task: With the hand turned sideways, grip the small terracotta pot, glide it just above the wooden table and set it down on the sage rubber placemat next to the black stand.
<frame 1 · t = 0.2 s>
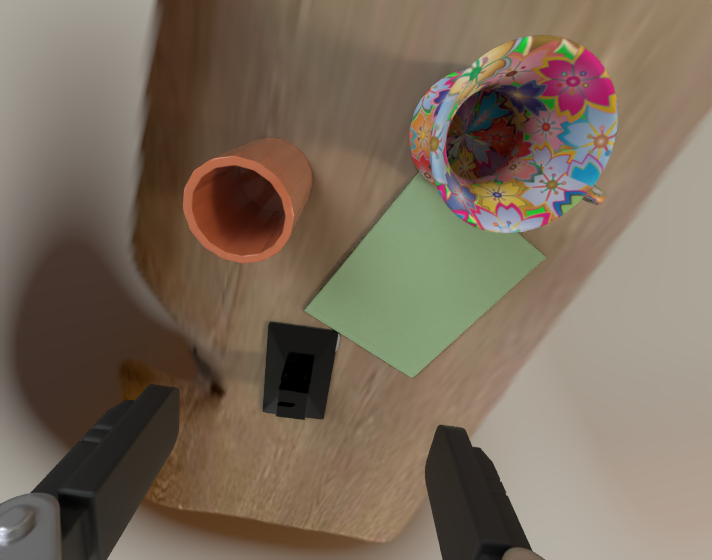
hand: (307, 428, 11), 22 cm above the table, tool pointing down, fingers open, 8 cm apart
black stand: (298, 371, 39), on the table
placemat: (419, 283, 34), on the table
pot: (274, 177, 29), on the table
mug: (475, 141, 28), on the table, touching placemat
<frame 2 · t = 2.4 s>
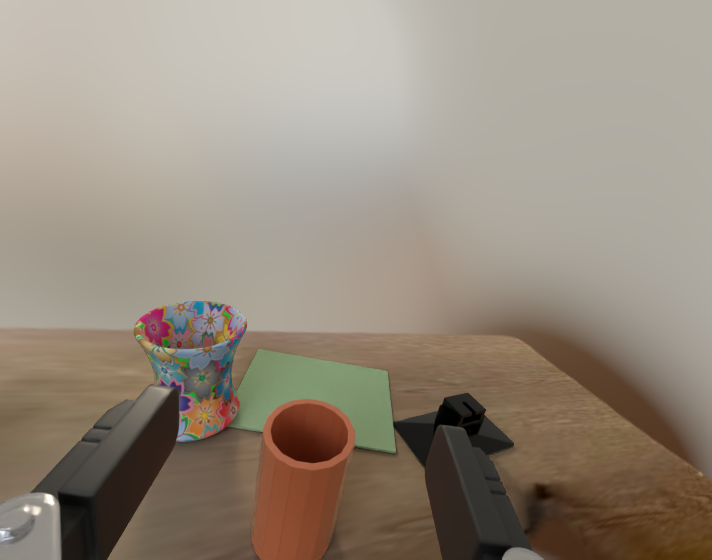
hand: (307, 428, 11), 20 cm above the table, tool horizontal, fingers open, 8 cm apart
black stand: (453, 436, 41), on the table
placemat: (317, 394, 43), on the table
pot: (292, 528, 28), on the table
mug: (198, 407, 38), on the table, touching placemat
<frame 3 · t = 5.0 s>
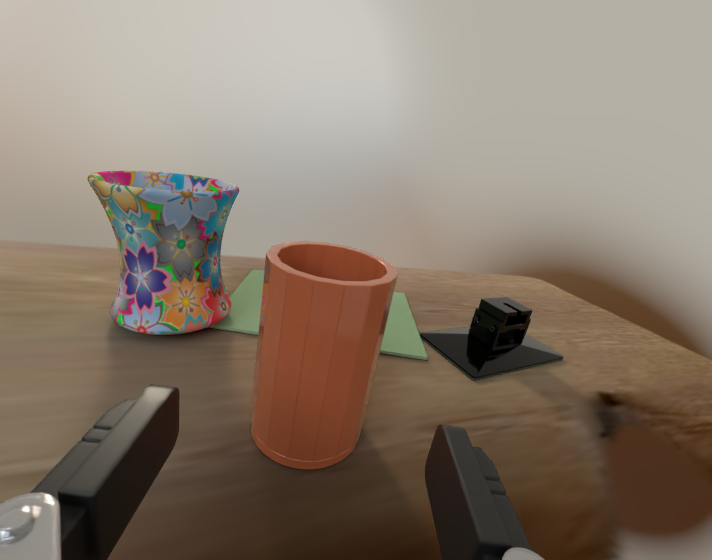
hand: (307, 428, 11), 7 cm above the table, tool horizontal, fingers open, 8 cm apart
black stand: (491, 349, 34), on the table
placemat: (325, 308, 36), on the table
pot: (306, 424, 21), on the table
mug: (179, 311, 30), on the table, touching placemat
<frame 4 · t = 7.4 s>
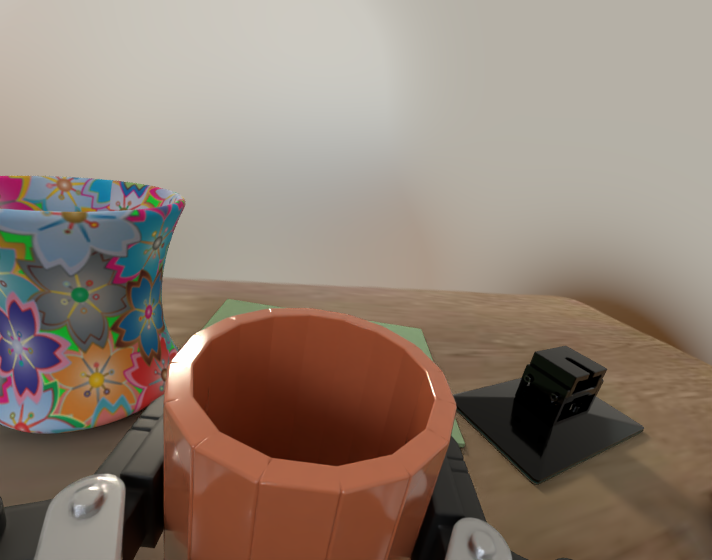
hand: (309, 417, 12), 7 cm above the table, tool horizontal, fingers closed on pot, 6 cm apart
black stand: (545, 418, 25), on the table
placemat: (318, 358, 27), on the table
mug: (108, 375, 21), on the table, touching placemat
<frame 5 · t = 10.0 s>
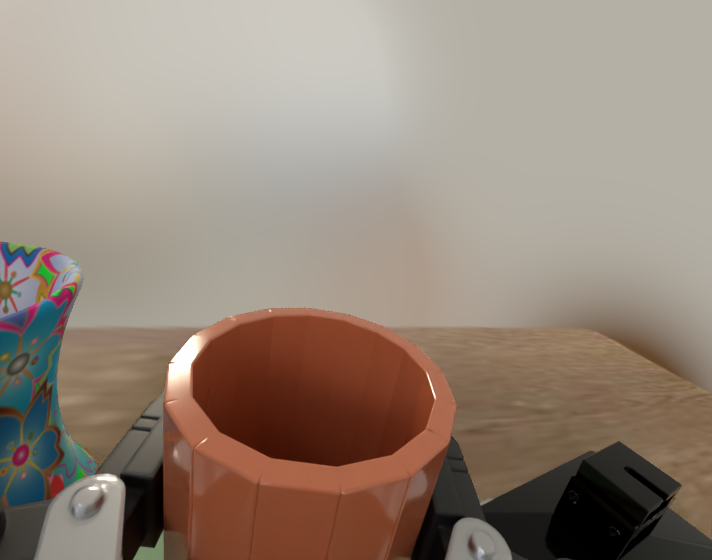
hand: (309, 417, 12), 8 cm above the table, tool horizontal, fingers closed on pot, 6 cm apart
black stand: (592, 538, 19), on the table
placemat: (296, 452, 20), on the table
when the fingers open (7 cm above the table, at t = 12.9 s): pot stays where it is, resting on placemat.
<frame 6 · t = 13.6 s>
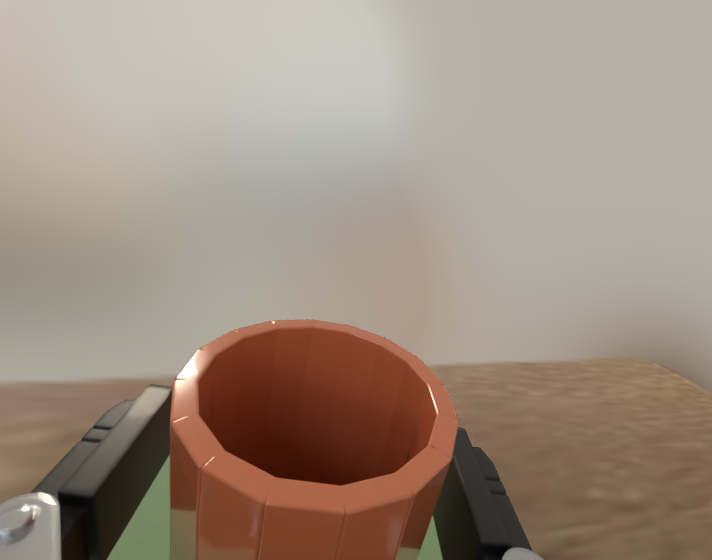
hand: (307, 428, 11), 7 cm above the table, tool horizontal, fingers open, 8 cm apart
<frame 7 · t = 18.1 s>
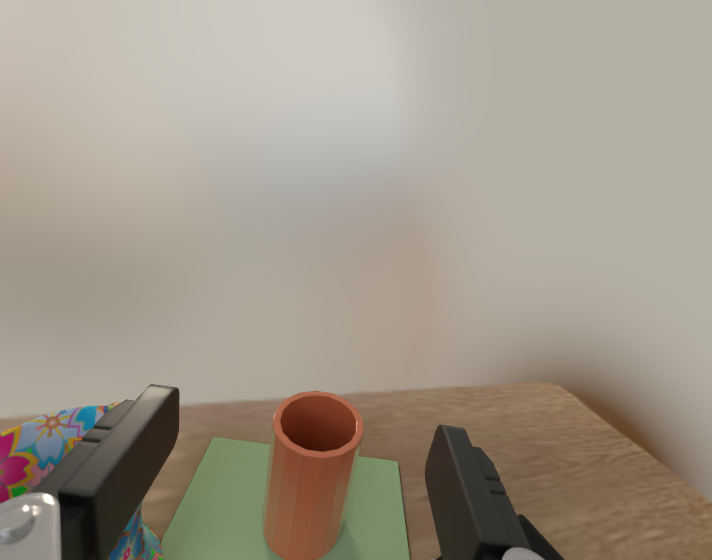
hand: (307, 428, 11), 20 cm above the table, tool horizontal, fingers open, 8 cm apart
placemat: (294, 521, 28), on the table
pot: (302, 520, 28), resting on placemat
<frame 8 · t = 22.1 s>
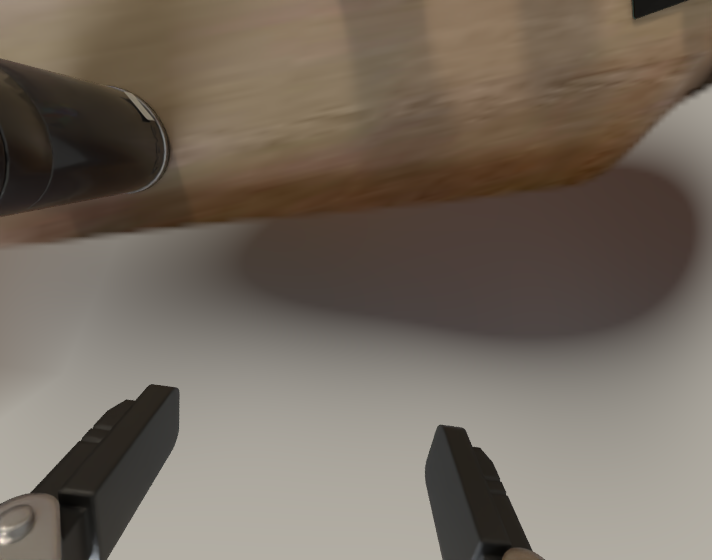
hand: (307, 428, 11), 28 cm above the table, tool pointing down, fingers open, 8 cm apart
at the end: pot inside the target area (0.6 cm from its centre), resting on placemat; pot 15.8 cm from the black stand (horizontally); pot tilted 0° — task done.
